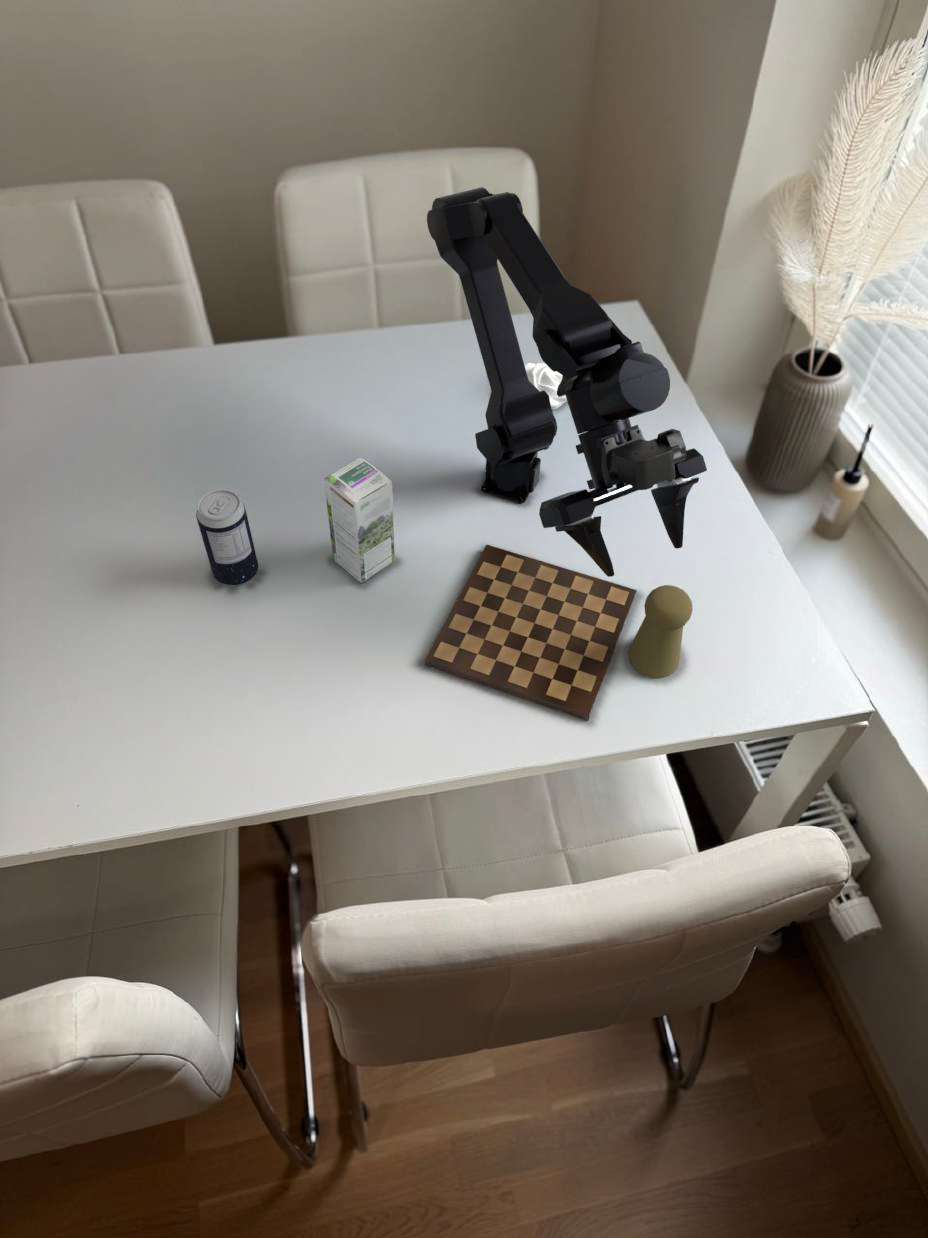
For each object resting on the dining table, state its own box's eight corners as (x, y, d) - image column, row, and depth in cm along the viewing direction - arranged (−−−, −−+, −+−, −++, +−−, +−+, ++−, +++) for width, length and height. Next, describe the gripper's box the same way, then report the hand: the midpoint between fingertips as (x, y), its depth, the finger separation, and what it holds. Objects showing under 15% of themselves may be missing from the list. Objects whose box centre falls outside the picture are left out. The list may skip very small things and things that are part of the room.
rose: (514, 347, 140) (578, 348, 140) (512, 371, 143) (575, 373, 143) (515, 388, 133) (582, 389, 133) (513, 412, 137) (579, 414, 137)
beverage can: (267, 563, 117) (252, 494, 108) (246, 595, 114) (228, 526, 104) (227, 551, 118) (209, 482, 109) (205, 583, 115) (184, 514, 106)
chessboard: (424, 665, 108) (424, 659, 107) (486, 549, 119) (486, 543, 118) (588, 721, 103) (589, 715, 102) (635, 595, 115) (637, 589, 114)
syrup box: (366, 538, 120) (359, 453, 109) (397, 562, 118) (392, 478, 106) (332, 560, 118) (321, 476, 106) (363, 586, 115) (354, 502, 104)
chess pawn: (677, 682, 107) (698, 623, 98) (625, 673, 107) (641, 613, 99) (680, 642, 110) (700, 581, 102) (630, 633, 111) (645, 572, 103)
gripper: (563, 441, 90) (611, 592, 92) (716, 387, 95) (757, 530, 98) (517, 456, 100) (562, 591, 103) (657, 406, 106) (696, 535, 108)
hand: (645, 561), depth 103 cm, fingers open, 9 cm apart
